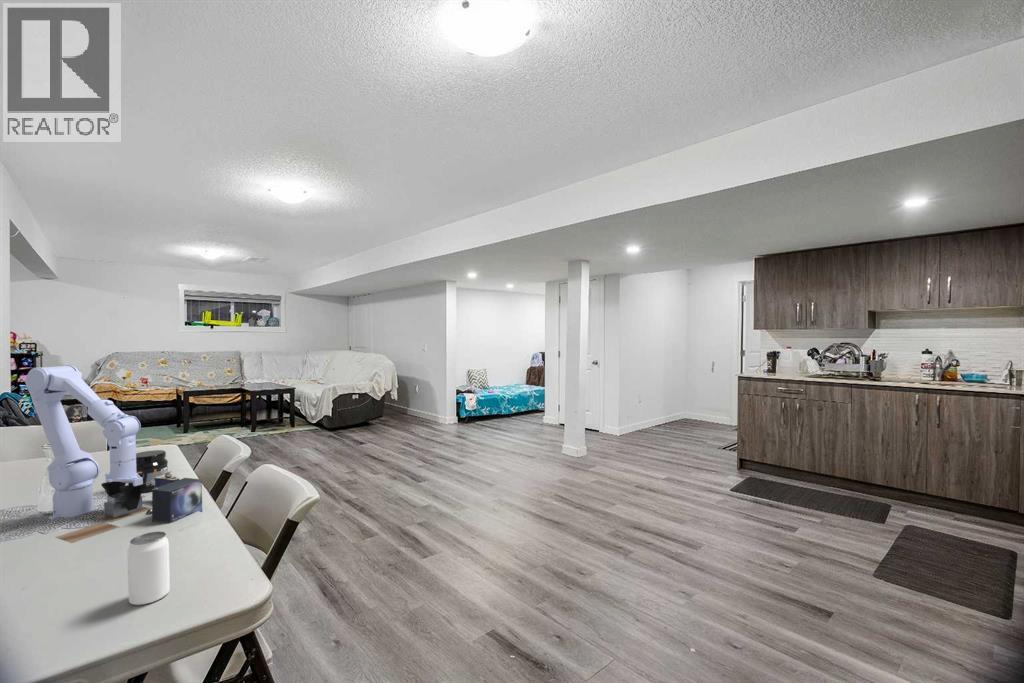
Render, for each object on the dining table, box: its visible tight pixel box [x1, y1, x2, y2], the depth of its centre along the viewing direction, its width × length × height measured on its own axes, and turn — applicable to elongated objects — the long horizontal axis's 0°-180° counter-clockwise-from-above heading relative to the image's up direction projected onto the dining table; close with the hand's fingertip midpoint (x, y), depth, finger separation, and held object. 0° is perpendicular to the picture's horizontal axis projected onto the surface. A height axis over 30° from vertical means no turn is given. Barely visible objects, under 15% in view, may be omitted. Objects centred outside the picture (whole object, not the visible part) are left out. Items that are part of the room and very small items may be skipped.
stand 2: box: [95, 505, 152, 523], centre depth 132 cm, size 8×10×2 cm
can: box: [127, 531, 171, 606], centre depth 92 cm, size 6×6×12 cm
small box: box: [151, 477, 203, 524], centre depth 130 cm, size 11×6×10 cm, turn 168°
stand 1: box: [54, 521, 120, 544], centre depth 119 cm, size 8×10×2 cm
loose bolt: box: [145, 508, 152, 516], centre depth 131 cm, size 6×3×3 cm, turn 86°
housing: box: [103, 493, 143, 519], centre depth 132 cm, size 4×7×6 cm, turn 156°
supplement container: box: [136, 449, 169, 494], centre depth 157 cm, size 10×10×12 cm
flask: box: [154, 470, 180, 488], centre depth 141 cm, size 9×3×11 cm, turn 71°
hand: (124, 507), depth 132 cm, fingers open, 7 cm apart
